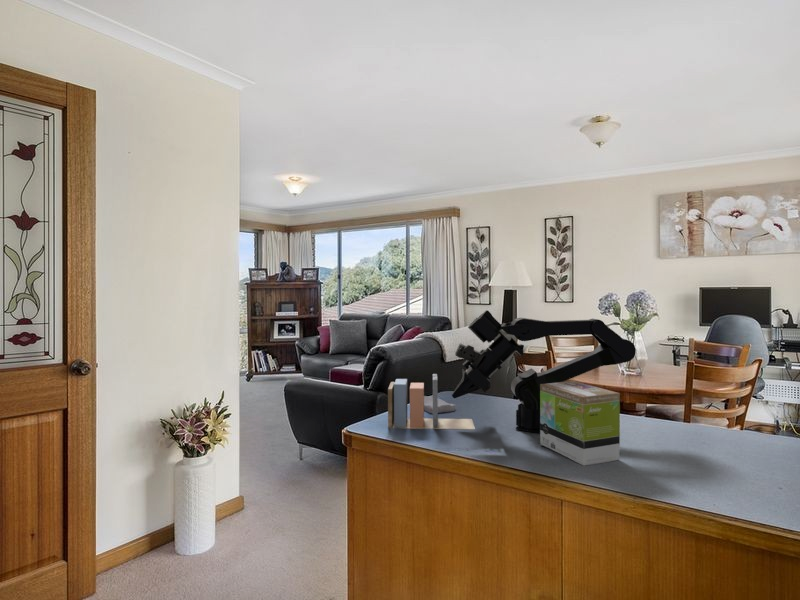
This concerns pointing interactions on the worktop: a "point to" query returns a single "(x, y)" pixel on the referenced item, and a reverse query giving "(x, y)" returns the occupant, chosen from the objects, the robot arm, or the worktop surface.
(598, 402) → the tea box
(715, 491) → the worktop surface
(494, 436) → the worktop surface
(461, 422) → the wooden book rack
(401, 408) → the book
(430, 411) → the stone block
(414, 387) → the book
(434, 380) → the grey flat rectangular panel
